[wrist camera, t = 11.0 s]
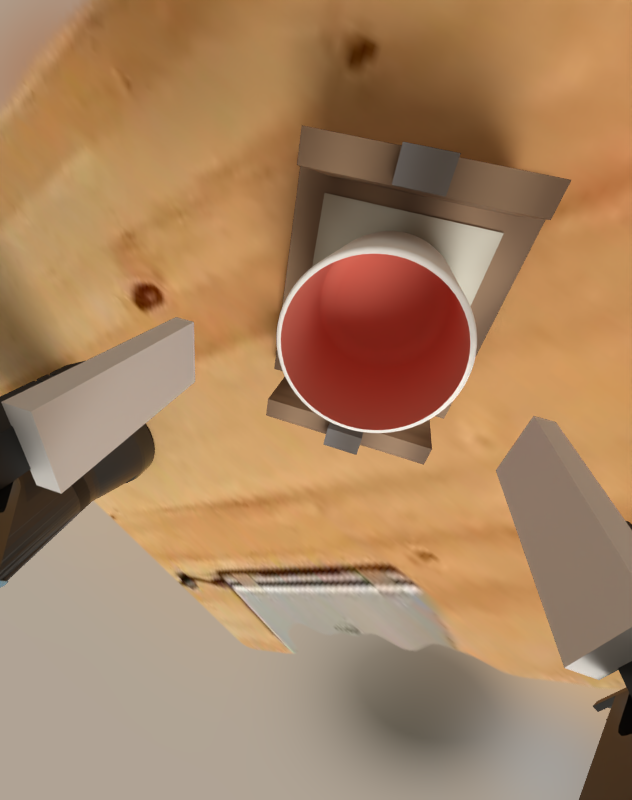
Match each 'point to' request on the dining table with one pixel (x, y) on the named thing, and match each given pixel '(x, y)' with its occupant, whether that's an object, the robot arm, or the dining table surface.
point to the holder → (417, 215)
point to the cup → (377, 334)
